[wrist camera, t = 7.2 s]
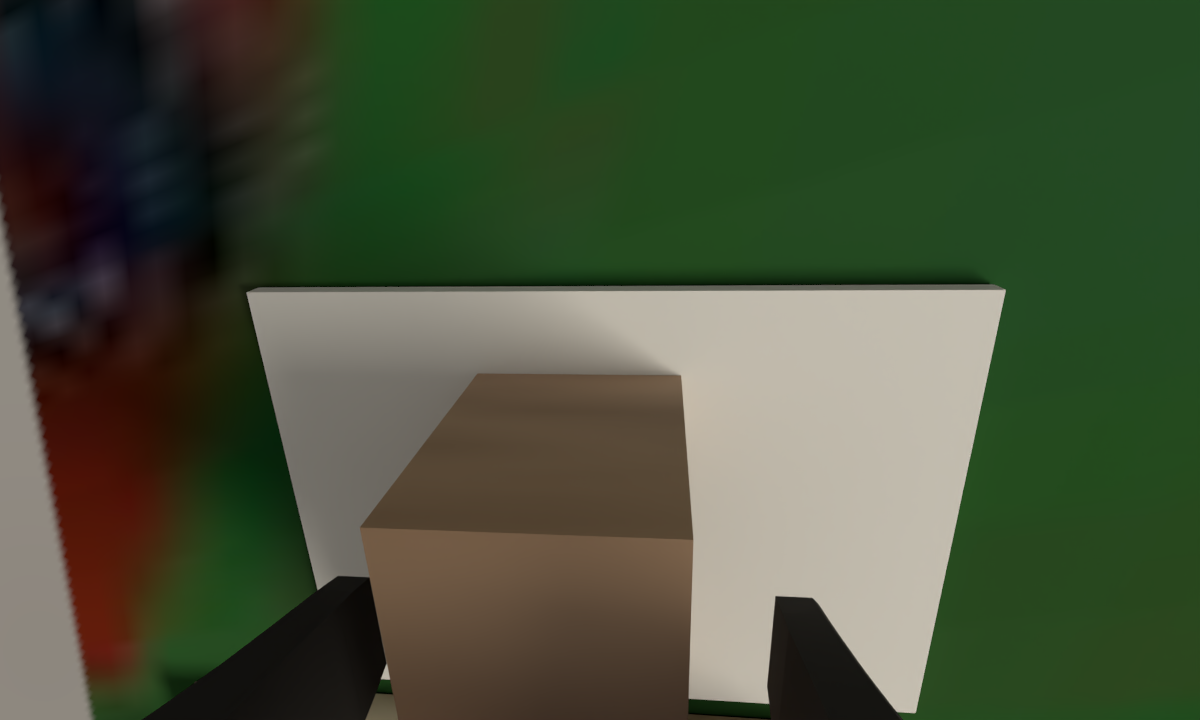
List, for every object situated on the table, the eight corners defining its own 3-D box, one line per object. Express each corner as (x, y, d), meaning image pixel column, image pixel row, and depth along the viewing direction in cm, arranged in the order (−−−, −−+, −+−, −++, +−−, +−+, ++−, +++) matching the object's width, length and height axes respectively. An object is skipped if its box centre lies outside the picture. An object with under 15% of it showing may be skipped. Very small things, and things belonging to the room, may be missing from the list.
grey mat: (908, 697, 14) (915, 713, 14) (345, 663, 16) (338, 676, 15) (994, 284, 11) (1006, 290, 10) (259, 287, 12) (245, 292, 12)
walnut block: (674, 687, 14) (680, 952, 10) (510, 676, 15) (439, 928, 10) (680, 375, 12) (692, 539, 7) (477, 373, 12) (359, 527, 7)
